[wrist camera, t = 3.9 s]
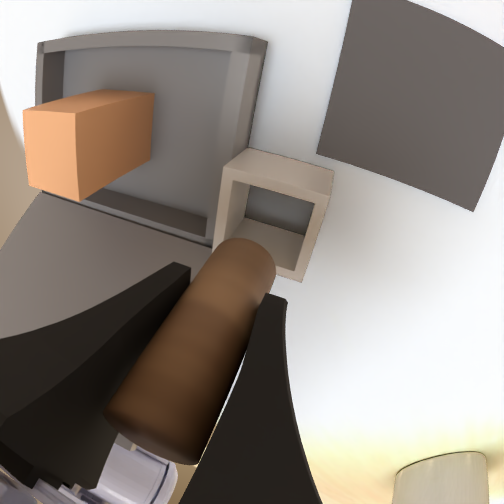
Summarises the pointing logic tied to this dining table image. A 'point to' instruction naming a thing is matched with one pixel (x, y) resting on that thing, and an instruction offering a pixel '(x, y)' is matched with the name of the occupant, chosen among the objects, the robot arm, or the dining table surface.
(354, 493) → the dining table surface
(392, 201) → the dining table surface
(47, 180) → the block
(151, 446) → the rod
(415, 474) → the utensil holder
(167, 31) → the case
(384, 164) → the pad
